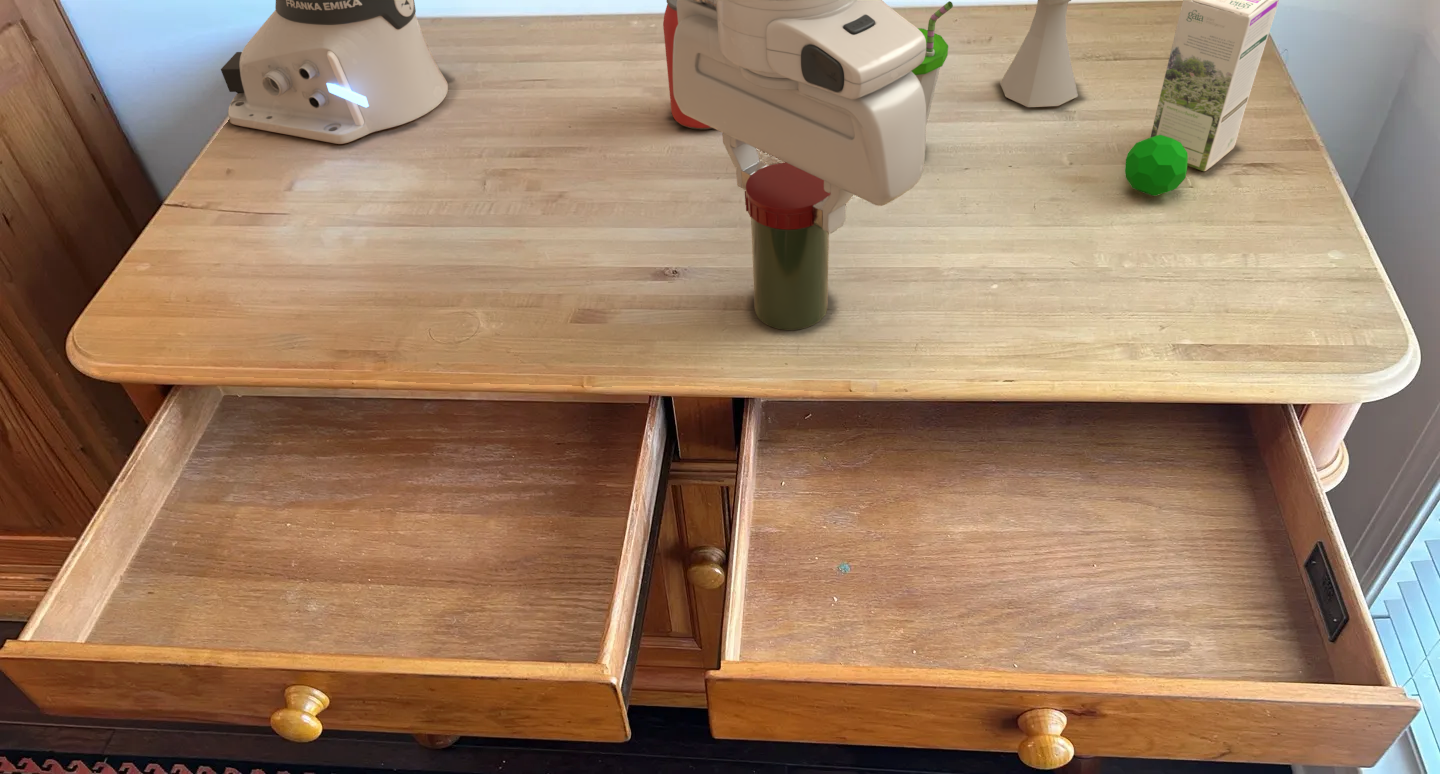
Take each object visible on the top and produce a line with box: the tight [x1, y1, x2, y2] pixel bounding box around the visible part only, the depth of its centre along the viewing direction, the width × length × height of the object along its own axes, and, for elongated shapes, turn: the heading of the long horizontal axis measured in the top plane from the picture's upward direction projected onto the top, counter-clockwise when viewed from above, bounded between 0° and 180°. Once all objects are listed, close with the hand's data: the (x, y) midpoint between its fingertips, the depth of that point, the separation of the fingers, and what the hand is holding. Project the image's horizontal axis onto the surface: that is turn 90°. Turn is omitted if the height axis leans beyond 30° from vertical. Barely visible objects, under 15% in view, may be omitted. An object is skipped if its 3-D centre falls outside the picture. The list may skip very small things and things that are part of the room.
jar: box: [750, 217, 830, 331], centre depth 78 cm, size 6×6×10 cm
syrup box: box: [1149, 0, 1280, 172], centre depth 90 cm, size 6×6×14 cm
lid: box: [744, 162, 831, 230], centre depth 74 cm, size 6×6×2 cm
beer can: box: [662, 0, 713, 130], centre depth 100 cm, size 7×7×12 cm
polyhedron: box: [1124, 135, 1188, 197], centre depth 89 cm, size 5×5×5 cm
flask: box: [999, 0, 1079, 108], centre depth 101 cm, size 7×7×10 cm
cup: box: [912, 1, 954, 126], centre depth 92 cm, size 8×8×15 cm
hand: (790, 206), depth 75 cm, fingers closed on lid, 6 cm apart
